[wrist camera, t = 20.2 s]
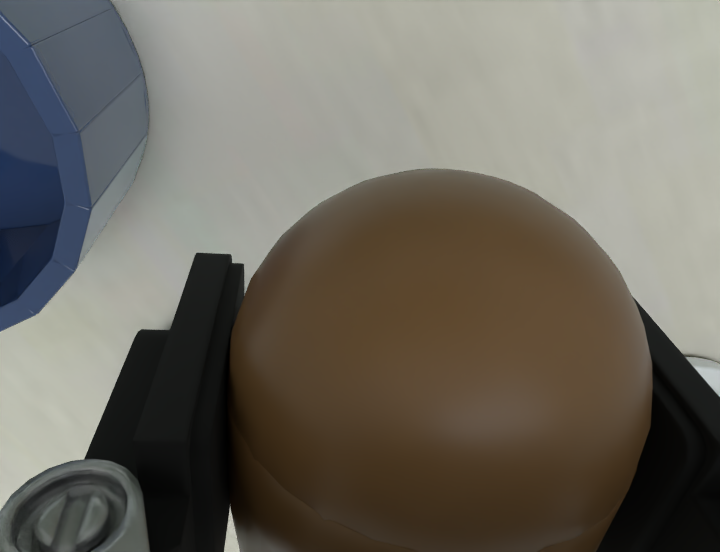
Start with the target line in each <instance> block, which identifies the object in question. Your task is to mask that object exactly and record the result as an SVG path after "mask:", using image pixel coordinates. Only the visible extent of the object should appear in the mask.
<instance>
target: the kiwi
mask: <svg viewBox="0 0 720 552" xmlns="http://www.w3.org/2000/svg"><path fill="white" fill-rule="evenodd" d="M652 390H653V383H652V360H651V356H650V351H649V346H648V342H647V337H646V332H645V328H644V324H643V321H642V319H641V316H640V313H639V310H638V308H637V305H636V303H635V301H634V299H633V297H632V295H631V293H630V291H629V289H628V287H627V285H626V283H625V281H624V279H623V277H622V275H621V273H620V271H619V270H618V268H617V267H616V266H615V264H614V263H613V262H612V260H611V259H610V257H609V256H608V255H607V254H606V253H605V251H604V250H603V249H602V248H601V247H600V246H599V245H598V243H597V242H596V241H595V240H594V239H593V238H592V237H591V236H590V234H589V233H588V232H587V231H586V230H585V229H584V228H583V227H582V226H581V225H580V224H579V223H578V222H576V221H575V220H574V219H573V218H572V217H570V216H569V215H567V214H566V213H564V212H563V211H561V210H560V209H558V208H557V207H555V206H554V205H552V204H551V203H549V202H547V201H546V200H544V199H543V198H541V197H540V196H538V195H537V194H535V193H533V192H531V191H529V190H527V189H525V188H523V187H521V186H518V185H516V184H513V183H511V182H508V181H505V180H502V179H499V178H496V177H492V176H488V175H484V174H479V173H474V172H468V171H461V170H452V169H417V170H410V171H404V172H399V173H394V174H390V175H385V176H380V177H377V178H373V179H369V180H365V181H363V182H360V183H358V184H356V185H354V186H352V187H350V188H348V189H346V190H344V191H342V192H340V193H338V194H336V195H334V196H332V197H330V198H329V199H327V200H325V201H323V202H321V203H320V204H318V205H317V206H316V207H314V208H313V209H312V210H310V211H309V212H308V213H307V214H305V215H304V216H303V217H302V218H301V219H300V220H299V221H298V222H296V223H295V224H294V225H293V226H292V227H291V228H290V229H289V230H287V231H286V232H285V233H284V234H283V235H282V236H281V237H280V239H279V240H278V241H277V243H276V244H275V245H274V247H273V248H272V249H271V251H270V252H269V253H268V255H267V256H266V258H265V259H264V261H263V262H262V264H261V265H260V267H259V268H258V269H257V271H256V272H255V274H254V275H253V277H252V278H251V280H250V283H249V285H248V288H247V291H246V293H245V296H244V299H243V301H242V304H241V307H240V309H239V312H238V315H237V318H236V321H235V324H234V326H233V329H232V332H231V339H230V349H229V361H228V375H227V382H226V395H227V437H228V478H229V500H230V506H231V512H232V516H233V522H234V526H235V531H236V535H237V540H238V544H239V549H240V552H596V551H597V549H598V547H599V545H600V543H601V541H602V539H603V537H604V535H605V534H606V532H607V530H608V528H609V526H610V524H611V522H612V520H613V518H614V517H615V515H616V513H617V511H618V509H619V507H620V505H621V503H622V501H623V499H624V498H625V496H626V494H627V492H628V490H629V488H630V485H631V483H632V480H633V478H634V475H635V473H636V471H637V465H638V461H639V459H640V456H641V453H642V450H643V447H644V444H645V441H646V438H647V435H648V433H649V430H650V427H651V408H652Z"/></svg>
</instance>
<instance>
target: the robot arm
mask: <svg viewBox="0 0 720 552" xmlns="http://www.w3.org/2000/svg"><path fill="white" fill-rule="evenodd" d="M632 297H633V296H632ZM243 299H244V264H239V263H232V256H231V254H212V253H196V255H195V257H194V260H193V263H192V266H191V269H190V272H189V275H188V278H187V281H186V284H185V287H184V290H183V293H182V296H181V299H180V302H179V305H178V308H177V311H176V314H175V317H174V320H173V323H172V326H171V329H170V330H143V329H141V330H140V331H138V333H137V335H136V337H135V338H134V341H133V343H132V346H131V348H130V350H129V353H128V355H127V358H126V360H125V362H124V365H123V367H122V370H121V372H120V374H119V377H118V379H117V382H116V384H115V387H114V389H113V391H112V394H111V396H110V399H109V401H108V403H107V406H106V408H105V411H104V413H103V415H102V418H101V420H100V423H99V425H98V427H97V430H96V432H95V435H94V437H93V439H92V442H91V444H90V447H89V449H88V451H87V454H86V456H85V459H84V460H76V461H70V462H67V463H64V464H61V465H58V466H55V467H52V468H49V469H47V470H45V471H44V472H42V473H40V474H38V475H37V476H35V477H33V478H31V479H29V480H28V481H27V482H26V483H25V484H24V485H22V486H21V487H20V488H19V489H18V490H17V491H16V492H14V493H13V494H12V495H11V496H10V498H9V499H8V501H7V502H6V503H5V505H4V506H3V508H2V509H1V511H0V552H224V546H225V539H226V531H227V524H228V516H229V509H230V500H229V478H228V437H227V395H226V382H227V375H228V361H229V349H230V339H231V332H232V329H233V326H234V324H235V321H236V318H237V315H238V312H239V309H240V307H241V304H242V301H243ZM633 299H634V298H633ZM634 301H635V303H636V305H637V308H638V310H639V313H640V316H641V319H642V321H643V324H644V328H645V332H646V337H647V342H648V346H649V351H650V356H651V360H652V383H653V390H652V408H651V427H650V430H649V433H648V435H647V438H646V441H645V444H644V447H643V450H642V453H641V456H640V459H639V461H638V465H637V471H636V473H635V475H634V478H633V480H632V483H631V485H630V488H629V490H628V492H627V494H626V496H625V498H624V499H623V501H622V503H621V505H620V507H619V509H618V511H617V513H616V515H615V517H614V518H613V520H612V522H611V524H610V526H609V528H608V530H607V532H606V534H605V535H604V537H603V539H602V541H601V543H600V545H599V547H598V549H597V551H596V552H720V364H719V363H717V362H714V361H712V360H707V359H702V358H697V357H685V356H684V355H683V354H682V353H681V352H680V351H679V349H678V348H677V347H676V346H675V345H674V344H673V343H672V341H671V340H670V339H669V338H668V337H667V336H666V334H665V333H664V332H663V331H662V330H661V329H660V328H659V326H658V325H657V324H656V323H655V322H654V321H653V320H652V318H651V317H650V316H649V315H648V314H647V313H646V311H645V310H644V309H643V308H642V307H641V306H640V305H639V303H638V302H637V301H636V300H635V299H634Z"/></svg>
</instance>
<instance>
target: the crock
mask: <svg viewBox="0 0 720 552" xmlns="http://www.w3.org/2000/svg"><path fill="white" fill-rule="evenodd" d="M148 125H149V108H148V95H147V89H146V83H145V77H144V74H143V71H142V67H141V64H140V60H139V57H138V54H137V52H136V49H135V47H134V45H133V42H132V40H131V38H130V35H129V33H128V31H127V29H126V27H125V25H124V24H123V22H122V20H121V18H120V17H119V15H118V13H117V11H116V9H115V8H114V6H113V5H112V4H111V2H110V1H109V0H0V332H1V331H3V330H5V329H7V328H9V327H11V326H14V325H16V324H18V323H20V322H22V321H24V320H26V319H29V318H31V317H33V316H35V315H36V314H38V313H39V312H40V311H41V310H42V309H43V308H44V307H45V305H46V304H47V303H48V302H49V301H50V300H51V299H52V297H53V296H54V295H55V294H56V293H57V292H58V291H59V289H60V288H61V287H62V286H63V285H64V284H65V282H66V281H67V280H68V279H69V278H70V277H71V276H72V274H73V273H74V272H75V271H76V269H77V268H78V266H79V265H80V263H81V262H82V260H83V259H84V257H85V256H86V254H87V253H88V251H89V250H90V248H91V246H92V245H93V243H94V242H95V240H96V239H97V237H98V236H99V234H100V233H101V231H102V230H103V228H104V227H105V225H106V223H107V222H108V220H109V219H110V217H111V216H112V214H113V213H114V211H115V210H116V208H117V207H118V205H119V204H120V202H121V200H122V199H123V197H124V196H125V194H126V193H127V191H128V190H129V188H130V187H131V185H132V184H133V181H134V180H135V176H136V173H137V169H138V167H139V165H140V163H141V160H142V157H143V153H144V149H145V146H146V142H147V135H148Z"/></svg>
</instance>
